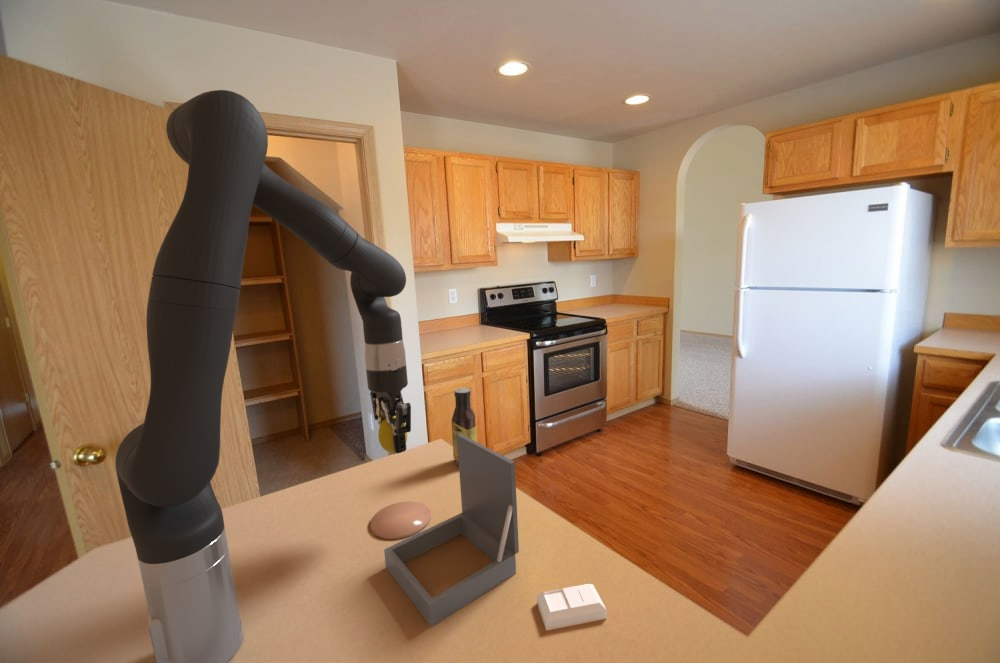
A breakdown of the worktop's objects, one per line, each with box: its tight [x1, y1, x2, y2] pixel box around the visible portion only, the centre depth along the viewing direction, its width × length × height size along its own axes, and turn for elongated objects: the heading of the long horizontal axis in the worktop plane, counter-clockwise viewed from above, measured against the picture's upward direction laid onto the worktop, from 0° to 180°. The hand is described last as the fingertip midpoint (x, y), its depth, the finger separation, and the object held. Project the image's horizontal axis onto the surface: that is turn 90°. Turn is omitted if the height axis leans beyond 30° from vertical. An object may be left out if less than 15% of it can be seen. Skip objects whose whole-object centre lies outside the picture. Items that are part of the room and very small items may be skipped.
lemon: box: [377, 416, 408, 455], centre depth 84 cm, size 6×6×8 cm
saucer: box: [370, 501, 432, 540], centre depth 86 cm, size 12×12×1 cm
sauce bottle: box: [451, 387, 478, 467], centre depth 109 cm, size 7×6×20 cm
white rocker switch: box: [536, 583, 608, 631], centre depth 62 cm, size 5×9×3 cm, turn 100°
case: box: [383, 434, 520, 628], centre depth 70 cm, size 17×16×20 cm
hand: (393, 446), depth 84 cm, fingers closed on lemon, 5 cm apart
